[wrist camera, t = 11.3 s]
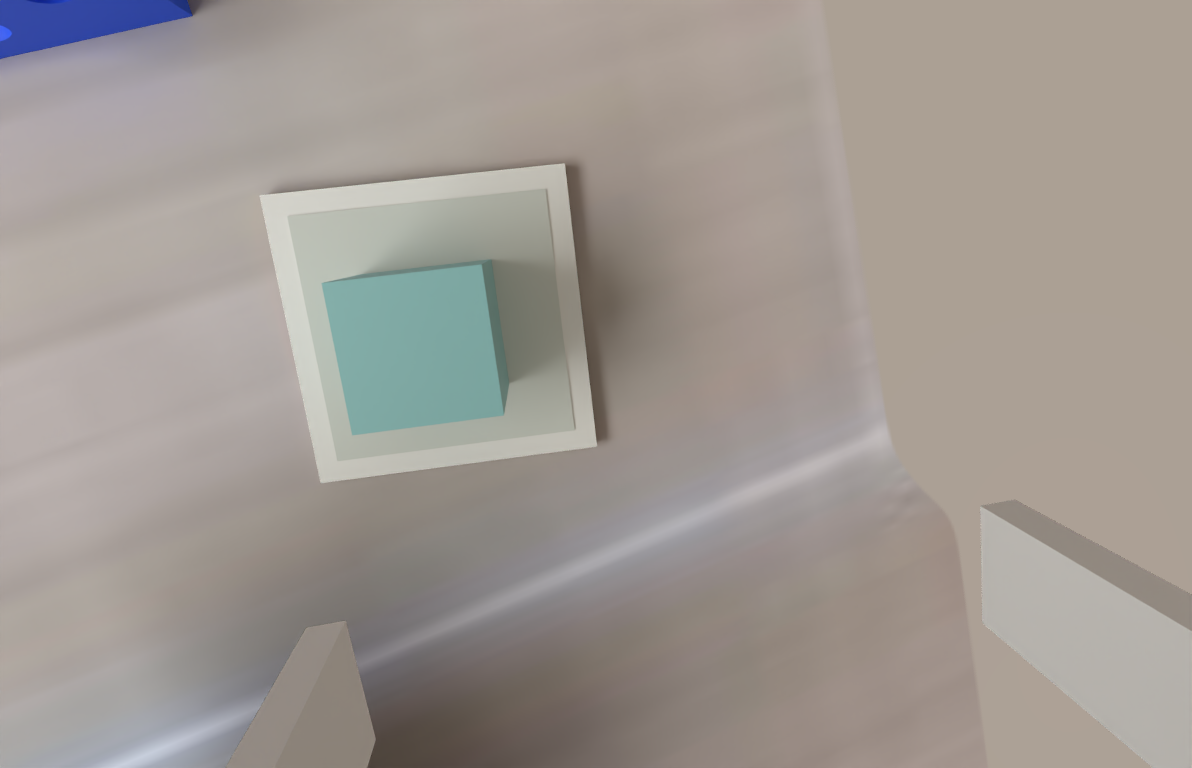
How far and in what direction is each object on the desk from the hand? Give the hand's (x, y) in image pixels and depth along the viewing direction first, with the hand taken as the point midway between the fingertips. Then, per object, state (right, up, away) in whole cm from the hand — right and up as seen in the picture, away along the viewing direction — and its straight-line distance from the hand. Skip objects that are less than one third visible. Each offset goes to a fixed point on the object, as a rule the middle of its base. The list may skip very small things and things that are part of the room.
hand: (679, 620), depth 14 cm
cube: (-10, +8, +24) cm, 27 cm away
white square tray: (-10, +8, +24) cm, 28 cm away
